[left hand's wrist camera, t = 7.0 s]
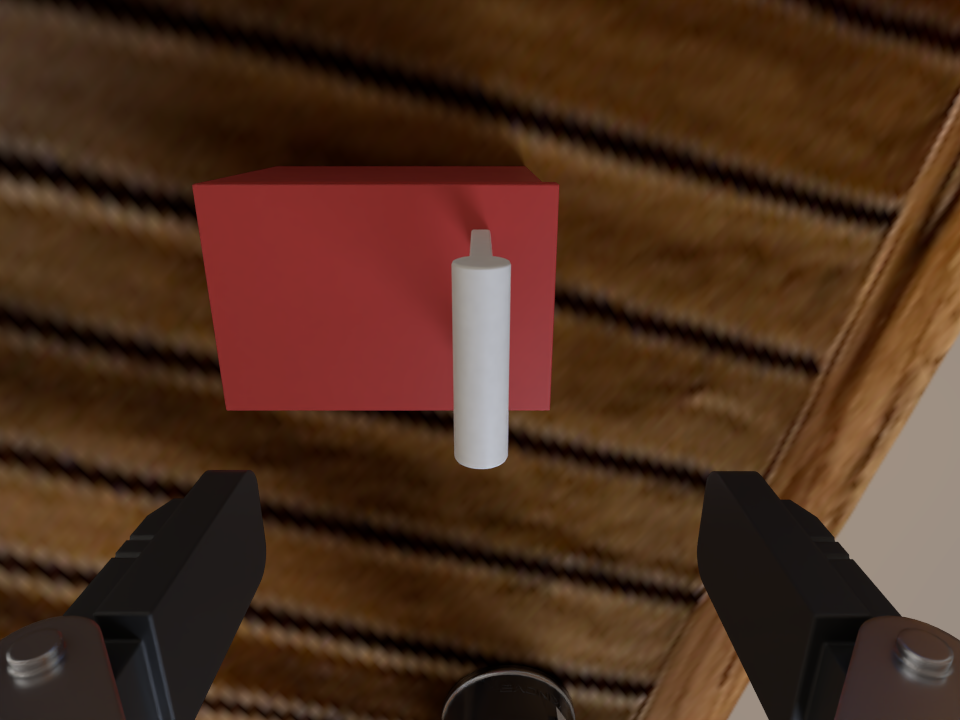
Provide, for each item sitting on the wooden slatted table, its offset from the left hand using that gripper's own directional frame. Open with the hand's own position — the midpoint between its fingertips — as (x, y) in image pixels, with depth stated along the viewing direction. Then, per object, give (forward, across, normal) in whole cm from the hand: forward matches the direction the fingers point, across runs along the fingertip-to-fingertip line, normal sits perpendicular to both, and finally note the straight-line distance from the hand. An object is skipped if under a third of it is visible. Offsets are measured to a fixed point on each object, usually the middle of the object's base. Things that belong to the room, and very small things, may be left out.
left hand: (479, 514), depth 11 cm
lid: (+15, +4, 0) cm, 15 cm away
